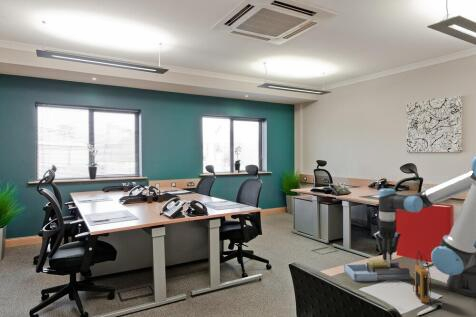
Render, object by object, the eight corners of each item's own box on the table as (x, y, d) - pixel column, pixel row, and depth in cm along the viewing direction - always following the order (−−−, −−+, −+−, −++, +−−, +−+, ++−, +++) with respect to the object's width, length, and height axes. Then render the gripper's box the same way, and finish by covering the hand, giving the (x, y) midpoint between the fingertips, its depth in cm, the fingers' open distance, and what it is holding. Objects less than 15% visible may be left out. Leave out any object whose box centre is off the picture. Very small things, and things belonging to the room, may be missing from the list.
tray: (377, 280, 147) (377, 273, 147) (354, 281, 146) (354, 274, 146) (364, 270, 160) (364, 263, 160) (344, 271, 159) (344, 264, 159)
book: (396, 255, 183) (396, 201, 183) (401, 252, 189) (401, 200, 188) (450, 266, 163) (450, 207, 163) (454, 263, 169) (454, 205, 168)
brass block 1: (380, 271, 151) (380, 262, 151) (372, 271, 151) (372, 262, 151) (376, 268, 155) (376, 259, 155) (368, 268, 155) (368, 260, 155)
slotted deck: (410, 279, 148) (410, 269, 148) (377, 280, 147) (377, 270, 147) (396, 269, 160) (396, 261, 160) (366, 270, 159) (366, 262, 159)
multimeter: (453, 309, 119) (453, 258, 118) (425, 307, 121) (424, 257, 120) (436, 293, 133) (436, 247, 133) (411, 291, 135) (411, 246, 135)
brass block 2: (388, 271, 152) (388, 262, 152) (380, 271, 152) (380, 262, 152) (384, 268, 156) (383, 259, 156) (376, 268, 156) (376, 259, 156)
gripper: (395, 217, 157) (395, 263, 158) (370, 218, 157) (370, 264, 158) (404, 221, 150) (404, 269, 150) (377, 221, 150) (378, 269, 150)
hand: (387, 266), depth 154 cm, fingers closed
